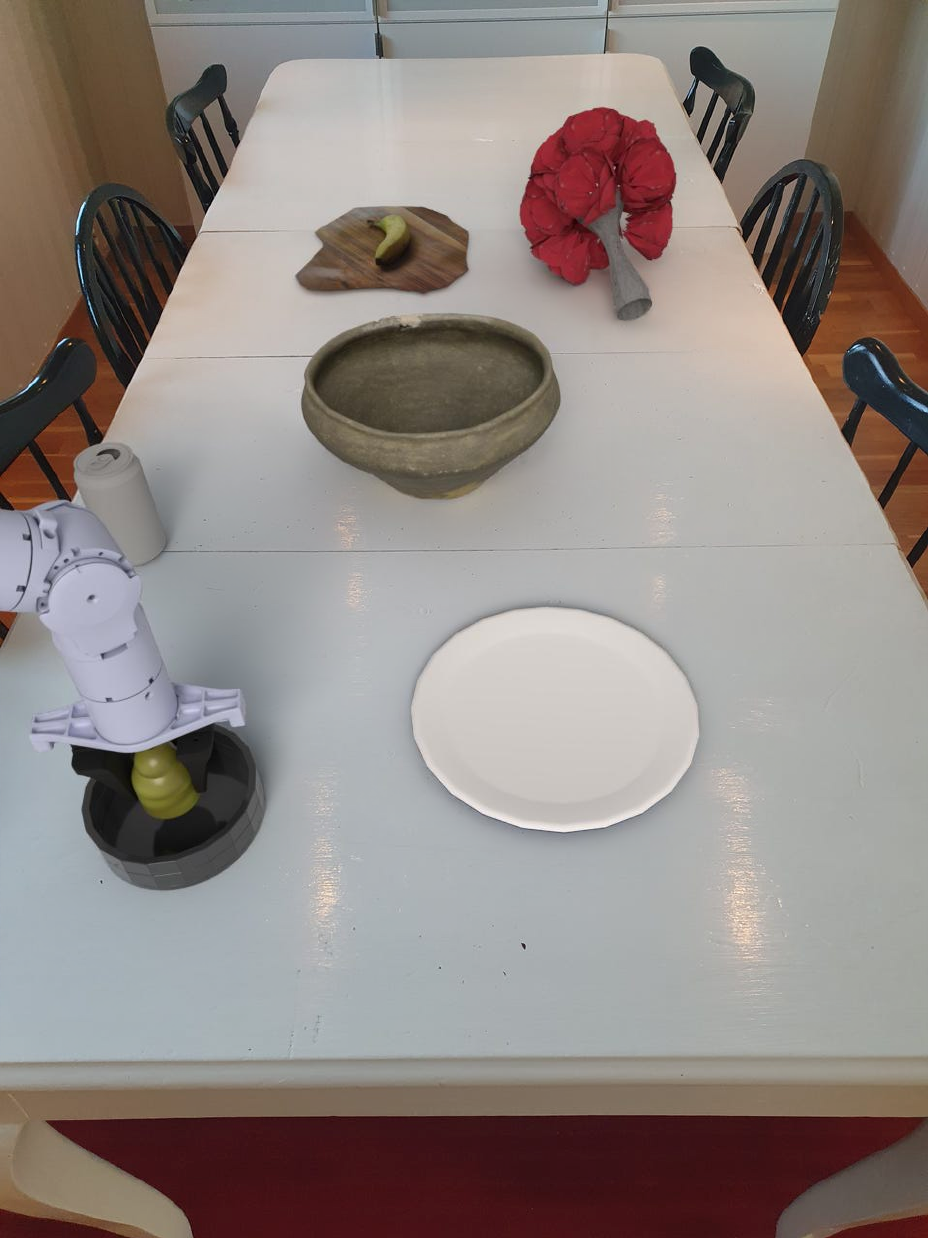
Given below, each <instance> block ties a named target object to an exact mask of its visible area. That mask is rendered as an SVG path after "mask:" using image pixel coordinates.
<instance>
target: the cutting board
mask: <svg viewBox="0 0 928 1238" xmlns="http://www.w3.org/2000/svg"><path fill="white" fill-rule="evenodd" d="M314 233H315V235H316V236H317V237H318V238H319V239H320V240H321V241H322V247H321V248H320V249H319V250H318V251H317V252H316V253H315V254H314V255H313V257H312V258H311V259H310V260H309V261H308V262H307V263H306V264H305V265H304V266H303V267H302V268H301V269H300V270H299V271H298V272H297V273H296V274H295V275H294V276H295V278H296V280H297V281H298V282H299V285H300V286H302V287H304V288H306V289H307V290H314V291H315V290H317V291H337V290H350V289H367V288H368V289H369V288H370V289H371V288H389V289H396V290H403V291H416V292H419V293H421V294H426V293H427V292H428V291H433V290H437V289H440V288H446V287H447V286H448V285H450V284H451V283H453V282H454V281H455V280H456V279H458V278H459V277H460V276H461V275H462V274H464V273H465V272H467V271H468V270H469V267H468V262H467V253H468V252H467V250H468V244H469V230H467V229H466V228H464V227H462V226H461V225H459V224H457V223H456V222H455V221H453V220H451V218H450V217H449V216H448V215H446V214H443V213H442V212H440V211H436V210H434V209H431V208H428V207H425V206H415V205H414V206H413V205H412V206H411V205H408V206H407V205H406V206H405V205H394V206H393V205H381V206H379V205H377V206H358V207H353V208H351V209H350V210H348V211H347V212H346V213H344V214H342V215H340V216H339V217H337V218H335V219H334V220H332V221H330V222H329V223H327V224H325V225H322V226H321V227H319V228H318V229H317V230H315V231H314Z"/></svg>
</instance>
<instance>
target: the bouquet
mask: <svg viewBox="0 0 928 1238" xmlns="http://www.w3.org/2000/svg"><path fill="white" fill-rule="evenodd" d="M655 125H656V124H655V122H651V121H649V120H648V119H643V120H640V121H638V120H637V119H635V118H632V117H630V116H627V115H625V114H622V113H620V112H619V111H618V110H617V109H614V108H610V107H605V106H600V107H593V108H592V109H587V110H583V111H581V112H578V113H574V114H572V115H569V116H567V119H565V121H564V123H563V124H562V126H561V127H560V128H559V129H557V130H556V132H553V134H550V135H549V136H548V137H547V139H546V140H545V141H543V142H542V143H541V145H540V146H539V147H538V148H537V150H536V152H535V154H534V157H533V159H532V160H533V161H532V163H531V165H530V173H529V175H528V177H527V179H528V181H527V183H526V184H525V187H524V193H523V196H522V198H521V203H520V204H519V221H520V225H521V226H522V227H523V228H524V230H525V231H524V235H525V237H526V240H527V241H528V242H529V243H530V244H531V246H530V247H529V250H530V253H531V255H532V256H533V257H534V258H535V259H537V260H539V261H540V260H541V262H542V263H544V264H545V265H546V266H547V268H548V269H549V270H550V272H552V273H553V274H554V275H556V276H559V277H560V278H561V279H563V280H565V281H567V282H569V283H572V284H573V285H575V286H579V285H581V284H584V283H585V282H586V281H587V279H588V277H589V275H590V270H604V269H607V268H608V267H609V272H610V287H611V295H612V301H613V306H614V307H615V310H616V313H617V318H618V319H620V320H622V321H632V320H634V319H637V318H640V317H641V316H643V315H645V314H646V313H648V312H649V311H650V309H651V308H652V306H653V301H652V298H651V295H650V291H649V289H648V287H647V285H646V284H645V282H644V280H643V279H642V277H641V275H640V274H639V272H638V270H637V269H636V268H635V266H634V265H633V264H632V263H631V261H630V259H629V258H628V256H627V254H626V252H625V251H624V248H623V245H622V241H621V239H622V240H624V238H625V239H626V241H627V242H628V245H630V246H631V247H632V248H633V249H634V250H636V251H637V252H638V253H639V254H640V255H641V256H642V257H643V258H645V259H646V260H647V261H651V262H652V261H653V260H658V259H661V258H662V256H663V253H664V251H665V249H666V248H667V247H668V243H669V241H670V239H671V237H672V234H673V230H674V229H673V228H674V226H673V225H674V224H673V219H674V218H673V211H674V207H673V204H672V200H673V199H674V196H673V195H674V194H675V190H676V186H677V172H676V171H675V163H674V160H673V158H672V156H671V153H670V152H668V148H667V147H666V146H665V144H664V143H663V142H662V141H661V138H660V136H659V135H658V134H657V128H656V127H655ZM623 213H625V214H627V215H626V217H625V218H624V220H625V221H626V222H627V223H625V225H624V227H625V229H622V227H621V218H622V215H623Z"/></svg>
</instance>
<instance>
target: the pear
mask: <svg viewBox="0 0 928 1238" xmlns="http://www.w3.org/2000/svg"><path fill="white" fill-rule="evenodd" d="M176 750H177V747H176V746H174V744H173V743H171V742H170V741H167V742H165V743H162V744H160V745H157V746H155V747H152V748H150V749H147V750H144V751H140V752H135V755H134V765H133V768H132V774H131V780H132V785H133V788H134V790H135V792H136V794H137V796H138V798H139V800H140V802H141V804H142V806H143V808H144V810H145V811H146V812H147V813H148V814H149V815H151V816H153V817H155V818H159V819H171V818H175V817H178V816H181V815H183V814H184V813H186V812H188V811H189V810H190V809H191V808H192V807H193V806H194V805H195V804H196V802H197V801H198V799H199V797H200V794H201V793H197V792H196V791H195V789H194V787H193V784H192V780H191V777H190V775H189V773H188V771H187V769H186V768H185V767H184V765H183V764H182V763H181V762H180V761H178V760H177V758H176Z"/></svg>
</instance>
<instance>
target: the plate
mask: <svg viewBox="0 0 928 1238" xmlns="http://www.w3.org/2000/svg"><path fill="white" fill-rule="evenodd" d="M410 715H411V722H412V731H413V732H412V733H413V739H414V741H415V744H416V746H417V748H418V750H419V752H420V755H421V757H422V759H423V762H424V763H425V765H426V768H427V769H428V770H429V771H430V772H431V774H432V775H433V776H434V777H435V778H436V779H437V780H438V782H439V783H440V784H441V785H442V786H443V787H444V788H445V789H446V790H447V792H448V793H449V794H450V795H451V796H453V797H455V798H456V799H458V800H459V801H460V802H462V803H464V804H465V805H466V806H468V807H469V808H471V809H473V810H474V811H476V812H477V813H479V814H481V815H482V816H484V817H486V818H489V819H493V820H495V821H499V822H501V823H503V824H507V825H510V826H513V827H515V828H518V829H521V830H529V831H537V832H538V831H539V832H547V833H557V834H570V833H571V834H572V833H580V832H586V831H595V830H603V829H608V828H609V827H613V826H615V825H617V824H620V823H623V822H625V821H628V820H631V819H633V818H636V817H638V816H641V815H643V814H645V813H646V812H647V811H649V810H650V809H651V808H652V807H654V806H655V805H656V804H658V803H659V802H661V801H662V800H663V799H665V798H666V797H667V796H668V795H670V794H671V793H672V792H673V790H674V789H675V788H676V786H677V785H678V784H679V782H680V781H681V779H682V778H683V776H684V775H685V774H686V773H687V771H688V770H689V768H690V767H691V765H692V761H693V758H694V755H695V751H696V748H697V745H698V741H699V738H700V724H699V706H698V703H697V701H696V698H695V695H694V693H693V690H692V687H691V684H690V683H689V680H688V678H687V676H686V674H685V673H684V672H683V670H681V668H680V667H679V666H678V664H677V663H676V662H675V660H674V659H673V658H672V657H671V656H670V654H669V652H667V651H666V650H664V649H663V648H662V647H661V646H659V645H658V644H657V643H656V642H655V641H653V640H652V639H651V638H650V637H648V636H647V635H646V634H644V633H643V632H642V631H640V630H637V629H635V628H633V627H632V626H629V625H628V624H626V623H623V622H621V621H619V620H617V619H615V618H613V617H610V616H608V615H607V616H606V615H603V614H600V613H595V612H593V611H592V612H591V611H587V610H585V609H580V608H571V607H560V606H549V605H548V606H536V607H526V608H515V609H510V610H507V611H504V612H500V613H498V614H494V615H491V616H488V617H485V618H481V619H479V620H478V621H476V622H473V623H472V624H470V625H469V626H467V627H465V628H463V629H461V630H459V631H458V632H456V633H454V634H453V635H452V636H451V637H450V638H449V639H447V640H446V641H445V643H443V644H442V645H441V646H440V647H439V648H438V649H437V650H436V651H435V652H434V653H433V654H431V656H430V658H429V660H428V661H427V663H426V664H425V666H424V667H423V669H422V671H421V672H420V675H418V678H417V680H416V684H415V688H414V693H413V696H412V701H411V706H410Z"/></svg>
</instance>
